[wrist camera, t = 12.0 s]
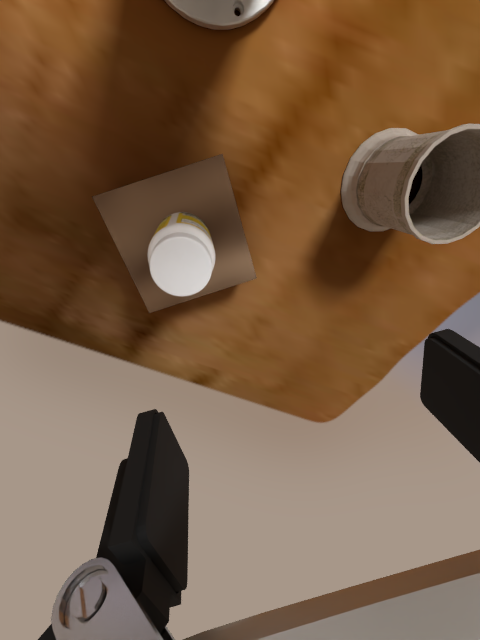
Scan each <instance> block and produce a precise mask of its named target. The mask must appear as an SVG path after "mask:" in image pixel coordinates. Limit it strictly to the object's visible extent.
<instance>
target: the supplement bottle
mask: <svg viewBox="0 0 480 640" xmlns="http://www.w3.org/2000/svg"><path fill="white" fill-rule="evenodd" d="M148 263H149V268H150V273H151V276H152V278H153V280H154V282H155V283H156V284H157V286H158V287H159V288H161V289H162V290H163V291H165V292H166V293H168V294H171V295H174V296H190V295H193V294H196V293H197V292H199V291H201V290H202V289H203V288H204V287H205V286H206V285H207V283H208V282H209V280H210V277H211V274H212V271H213V268H214V265H215V249H214V246H213V242H212V239H211V236H210V232H209V230H208V228H207V226H206V225H205V223H204V222H203V221H202V220H201V219H200V218H199V217H197V216H195V215H193V214H191V213H187V212H178V213H174V214H171V215H169V216H167V217H166V218H165V219H164V220H162V222H161V223H160V224H159V226H158V228H157V230H156V232H155V234H154V236H153V237H152V239H151V241H150V244H149V247H148Z"/></svg>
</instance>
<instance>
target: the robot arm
mask: <svg viewBox="0 0 480 640" xmlns="http://www.w3.org/2000/svg"><path fill="white" fill-rule="evenodd" d="M164 1H165V2H166V3H167V4H168V5H169V6H170V7H171V8H172V9H173V10H175V11H176V12H177V13H178V14H180V15H181V16H182V17H183V18H185V19H187V20H189V21H191V22H193V23H195V24H197V25H199V26H202V27H206V28H210V29H214V30H229V29H233V28H237V27H241V26H244V25H246V24H247V23H249V22H251V21H253V20H255V19H256V18H258V17H259V16H260V15H261V14H262V13H263V12H264V11H266V10H267V9H268V8H269V7H270V5H271V4H272V3H273V1H274V0H164ZM235 10H238V11H239V12H240V16H236V15H235V14H234V11H235ZM420 397H421V401H422V403H423V404H424V406H425V407H426V408H427V409H428V410H429V411H430V412H431V413H432V414H433V415H434V416H435V417H436V418H437V419H438V420H439V421H440V422H441V423H442V424H443V425H444V426H445V427H446V428H447V430H448V431H449V432H450V433H451V434H452V435H453V436H454V437H455V438H456V439H457V440H458V441H459V442H460V443H461V444H462V445H463V446H464V447H465V448H466V449H467V450H468V451H469V452H470V453H471V454H472V455H473V456H474V457H475V458H476V459H477V460H478V461H479V462H480V347H478V346H476V345H475V344H473V343H472V342H470V341H468V340H467V339H465V338H463V337H462V336H460V335H459V334H457V333H456V332H454V331H452V330H450V329H445V330H442V331H439V332H434V333H431V334H430V335H429V336H428V339H426V340H425V346H424V358H423V369H422V381H421V393H420ZM188 500H189V467H188V463H187V460H186V458H185V456H184V454H183V452H182V450H181V448H180V446H179V444H178V442H177V439H176V437H175V435H174V433H173V431H172V429H171V427H170V425H169V423H168V421H167V419H166V417H165V415H164V413H163V412H160V413H158V411H157V410H156V409H154V410H151V411H147V412H143V413H140V414H138V417H137V420H136V425H135V429H134V433H133V438H132V442H131V447H130V451H129V456H128V458H127V459H124V460H123V461H122V462H121V463H120V466H119V469H118V473H117V477H116V481H115V485H114V489H113V493H112V497H111V501H110V505H109V509H108V513H107V517H106V521H105V525H104V529H103V533H102V537H101V541H100V545H99V549H98V553H97V557H96V558H95V559H91V560H89V561H88V562H86V563H84V564H82V565H81V566H80V567H79V568H77V569H76V570H75V571H74V572H73V573H72V574H71V575H70V577H69V578H68V579H67V580H66V581H65V583H64V585H63V586H62V588H61V590H60V591H59V593H58V595H57V598H56V600H55V603H54V606H53V610H52V617H51V621H52V624H51V625H50V626H49V628H47V630H46V631H45V632H44V633H43V634H42V635H41V637H40V638H39V639H38V640H175V639H174V637H173V636H172V634H171V633H170V631H169V630H168V628H167V627H166V625H167V623H168V621H169V608H170V607H173V606H177V605H180V604H181V591H182V590H185V589H186V587H187V563H188ZM183 640H480V550H477V551H474V552H470V553H467V554H463V555H460V556H456V557H452V558H449V559H446V560H443V561H439V562H435V563H432V564H428V565H425V566H421V567H418V568H414V569H411V570H407V571H404V572H401V573H397V574H394V575H390V576H387V577H383V578H380V579H376V580H373V581H370V582H366V583H363V584H359V585H356V586H352V587H349V588H346V589H342V590H339V591H335V592H332V593H329V594H325V595H322V596H319V597H315V598H312V599H308V600H305V601H301V602H298V603H295V604H291V605H288V606H284V607H281V608H278V609H274V610H271V611H268V612H264V613H261V614H258V615H255V616H252V617H249V618H245V619H242V620H239V621H236V622H233V623H229V624H226V625H223V626H220V627H217V628H214V629H211V630H207V631H204V632H202V633H199V634H196V635H194V636H191V637H189V638H186V639H183Z"/></svg>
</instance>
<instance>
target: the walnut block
mask: <svg viewBox="0 0 480 640" xmlns="http://www.w3.org/2000/svg"><path fill="white" fill-rule="evenodd" d="M92 198H93V200H94V202H95V204H96V206H97V208H98V210H99V212H100V214H101V216H102V218H103V220H104V222H105V224H106V226H107V228H108V230H109V232H110V234H111V236H112V238H113V240H114V242H115V244H116V246H117V248H118V251H119V253H120V255H121V257H122V259H123V261H124V263H125V265H126V267H127V269H128V271H129V273H130V275H131V277H132V279H133V281H134V283H135V285H136V287H137V289H138V291H139V293H140V295H141V297H142V299H143V301H144V303H145V305H146V307H147V309H148V311H149V313H151V312H155V311H158V310H161V309H164V308H167V307H170V306H173V305H176V304H179V303H182V302H185V301H189V300H192V299H195V298H198V297H201V296H204V295H207V294H210V293H213V292H216V291H219V290H222V289H226V288H229V287H232V286H235V285H238V284H241V283H244V282H247V281H250V280H253V279H256V274H255V270H254V267H253V263H252V259H251V256H250V252H249V249H248V245H247V241H246V238H245V234H244V230H243V227H242V223H241V219H240V216H239V212H238V209H237V205H236V201H235V198H234V194H233V190H232V187H231V183H230V179H229V176H228V172H227V169H226V165H225V161H224V158H223V154H221V155H218V156H214V157H211V158H208V159H205V160H202V161H199V162H196V163H193V164H190V165H187V166H184V167H181V168H178V169H175V170H172V171H169V172H166V173H163V174H160V175H157V176H154V177H150V178H147V179H144V180H141V181H138V182H135V183H132V184H129V185H126V186H123V187H120V188H117V189H114V190H111V191H108V192H105V193H102V194H99V195H96V196H93V197H92ZM178 212H187V213H191V214H193V215H195V216H197V217H199V218H200V219H201V220H202V221H203V222H204V223H205V225H206V226H207V228H208V230H209V232H210V236H211V239H212V242H213V246H214V249H215V265H214V268H213V271H212V274H211V277H210V280H209V282H208V283H207V285H206V286H205V287H204V288H203V289H202V290H201V291H199V292H197V293H196V294H193V295H190V296H174V295H171V294H168V293H166V292H165V291H163V290H162V289H161V288H159V287H158V286H157V284H156V283H155V282H154V280H153V278H152V276H151V273H150V268H149V263H148V247H149V244H150V241H151V239H152V237H153V236H154V234H155V232H156V230H157V228H158V226H159V224H160V223H161V222H162V220H164V219H165V218H166V217H167V216H169V215H171V214H174V213H178Z"/></svg>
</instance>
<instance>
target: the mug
mask: <svg viewBox="0 0 480 640" xmlns="http://www.w3.org/2000/svg"><path fill="white" fill-rule="evenodd" d="M420 165H421V168H422V182H421V186H420V189H419V191H418V193H417V195H416V197H415V199H414V200H413V201H412V202H411V203H410V204H409V194H410V189H411V185H412V181H413V179H414V177H415V175H416V173H417V171H418V169H419V167H420ZM341 197H342V204H343V208H344V210H345V212H346V214H347V216H348V218H349V219H350V220H351V221H352V222H353V223H354V224H355V225H356V226H358V227H360V228H362V229H365V230H368V231H385V230H388V229H391V228H392V229H395V230H398V231H402V232H405V233H408V234H412V235H414V236H415V237H416V238H417V239H420V240H423V241H425V242H428V243H431V244H447V243H450V242H453V241H456V240H459V239H462V238H464V237H465V236H467V235H468V234H470V233H471V232H473V231H474V230H476V229H477V228H478V227H479V226H480V124H464V125H461V126H458V127H455V128H452V129H450V130H447V131H441V132H434V133H427V134H421V135H418V134H416V133H414V132H412V131H410V130H408V129H406V128H389V129H386V130H384V131H381V132H378V133H375V134H374V135H372V136H371V137H370V138H369V139H367V140H366V141H365V142H363V143H362V144H361V145H360V146H359V148H358V149H357V150H356V152H355V153H354V154H353V155H352V157H351V158H350V160H349V162H348V165H347V167H346V170H345V172H344V174H343V180H342V187H341Z"/></svg>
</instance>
